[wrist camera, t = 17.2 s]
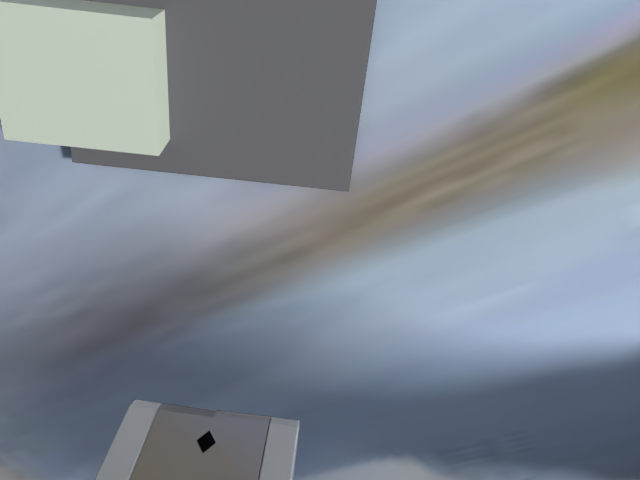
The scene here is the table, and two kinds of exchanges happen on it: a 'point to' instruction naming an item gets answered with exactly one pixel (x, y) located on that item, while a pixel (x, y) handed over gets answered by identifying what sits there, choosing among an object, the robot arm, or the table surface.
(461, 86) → the table surface
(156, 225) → the table surface
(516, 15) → the table surface
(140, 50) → the block
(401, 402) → the table surface
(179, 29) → the mat
